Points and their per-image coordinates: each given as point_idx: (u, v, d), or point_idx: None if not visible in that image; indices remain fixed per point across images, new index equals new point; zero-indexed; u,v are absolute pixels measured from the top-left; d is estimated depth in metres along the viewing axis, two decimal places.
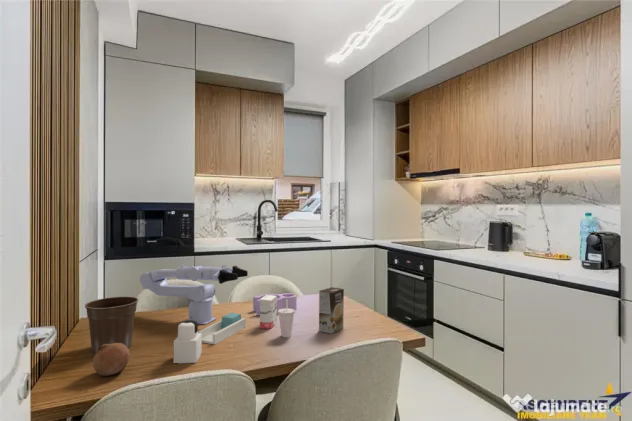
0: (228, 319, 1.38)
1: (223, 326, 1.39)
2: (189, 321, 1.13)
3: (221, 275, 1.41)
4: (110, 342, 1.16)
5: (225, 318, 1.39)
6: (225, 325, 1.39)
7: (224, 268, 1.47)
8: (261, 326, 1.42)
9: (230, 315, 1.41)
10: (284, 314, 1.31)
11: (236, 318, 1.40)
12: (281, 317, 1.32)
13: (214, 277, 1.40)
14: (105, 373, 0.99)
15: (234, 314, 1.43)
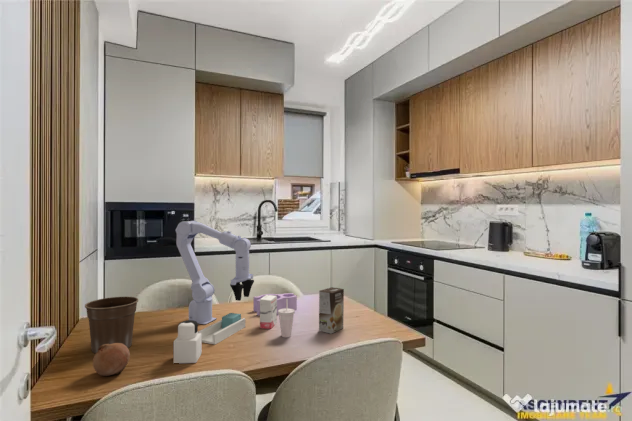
0: (228, 319, 1.38)
1: (223, 326, 1.39)
2: (189, 321, 1.13)
3: None
4: (110, 342, 1.16)
5: (225, 318, 1.39)
6: (225, 325, 1.39)
7: None
8: (261, 326, 1.42)
9: (230, 315, 1.41)
10: (284, 314, 1.31)
11: (236, 318, 1.40)
12: (281, 317, 1.32)
13: (232, 282, 1.42)
14: (105, 373, 0.99)
15: (234, 314, 1.43)
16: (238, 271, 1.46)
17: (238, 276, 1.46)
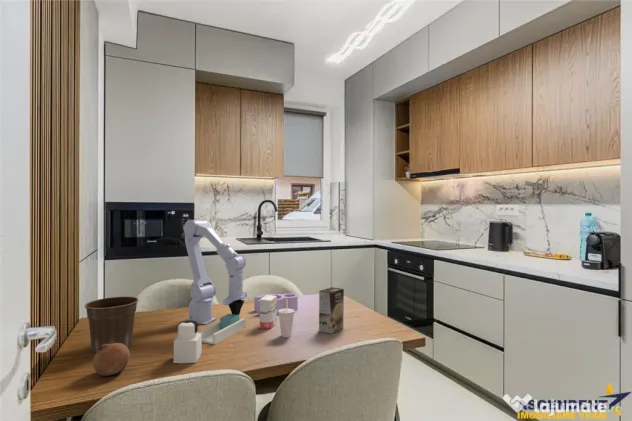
0: (227, 320, 1.37)
1: (221, 327, 1.38)
2: (189, 321, 1.13)
3: None
4: (110, 342, 1.16)
5: (223, 319, 1.38)
6: (223, 326, 1.38)
7: None
8: (261, 326, 1.42)
9: (228, 316, 1.40)
10: (284, 314, 1.31)
11: (234, 319, 1.39)
12: (281, 317, 1.32)
13: (225, 302, 1.37)
14: (105, 373, 0.99)
15: (232, 315, 1.42)
16: (231, 290, 1.41)
17: (231, 295, 1.41)
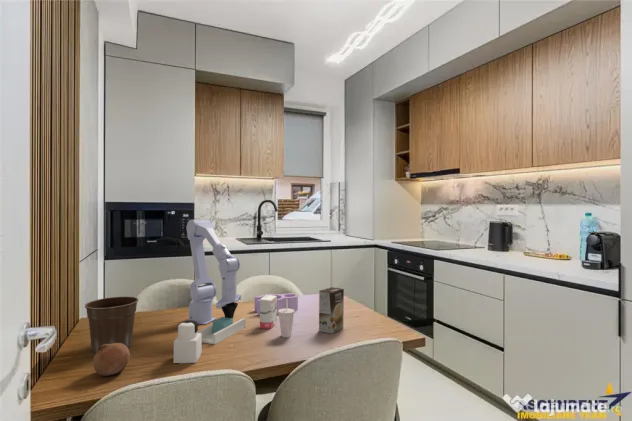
0: (219, 323, 1.33)
1: (214, 331, 1.34)
2: (189, 321, 1.13)
3: None
4: (110, 342, 1.16)
5: (216, 323, 1.33)
6: (216, 330, 1.33)
7: None
8: (261, 326, 1.42)
9: (221, 319, 1.36)
10: (284, 314, 1.31)
11: (228, 323, 1.35)
12: (281, 317, 1.32)
13: (218, 305, 1.33)
14: (105, 373, 0.99)
15: (225, 318, 1.37)
16: (224, 293, 1.37)
17: (224, 298, 1.37)
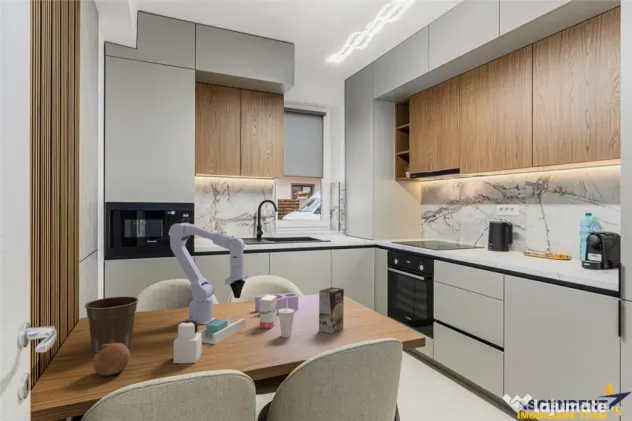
0: (213, 327, 1.29)
1: (207, 334, 1.30)
2: (189, 321, 1.13)
3: None
4: (110, 342, 1.16)
5: (210, 326, 1.30)
6: (210, 333, 1.30)
7: (241, 278, 1.49)
8: (261, 326, 1.42)
9: (215, 322, 1.32)
10: (284, 314, 1.31)
11: (222, 326, 1.31)
12: (281, 317, 1.32)
13: (227, 281, 1.43)
14: (105, 373, 0.99)
15: (219, 321, 1.34)
16: (232, 271, 1.47)
17: (232, 276, 1.47)
